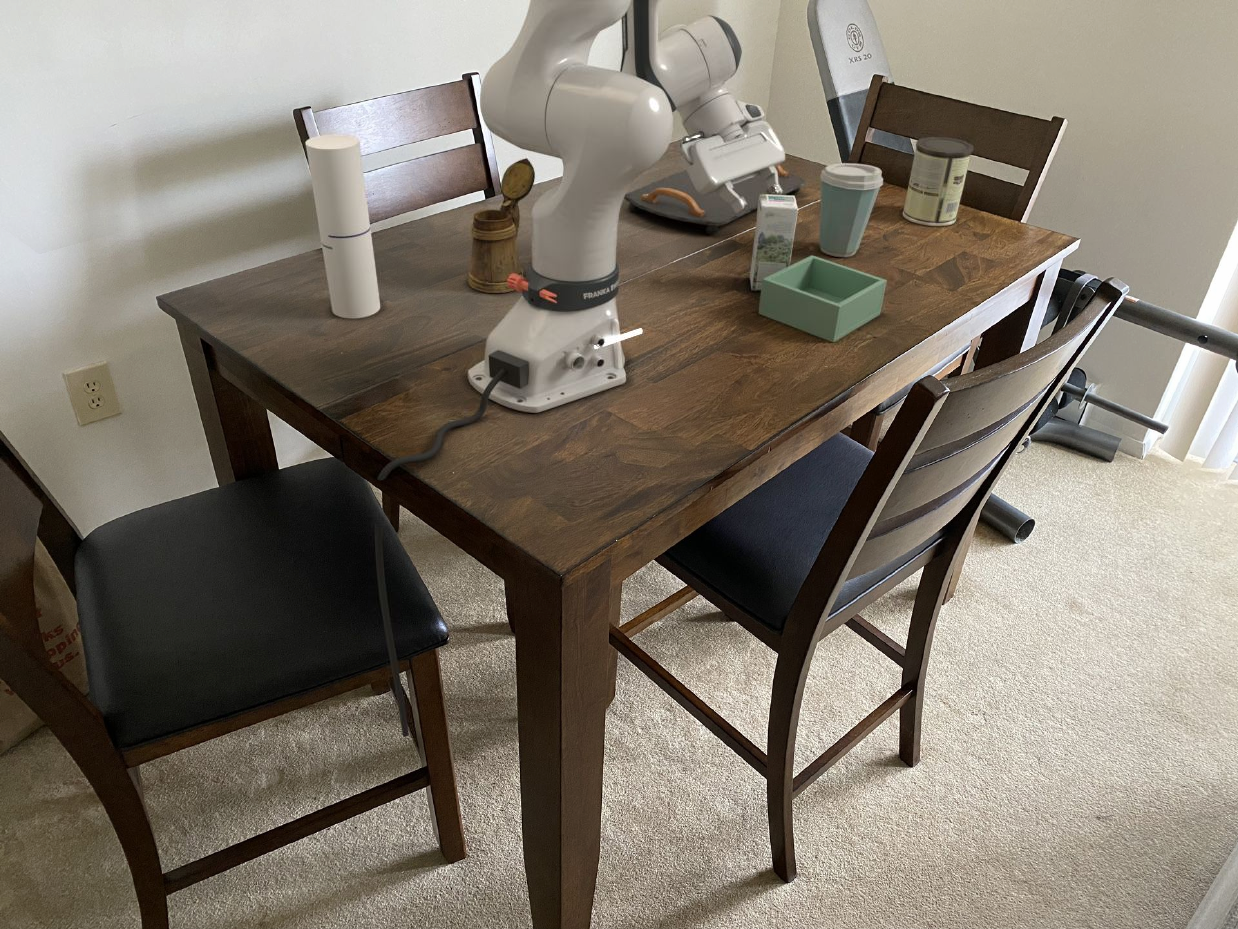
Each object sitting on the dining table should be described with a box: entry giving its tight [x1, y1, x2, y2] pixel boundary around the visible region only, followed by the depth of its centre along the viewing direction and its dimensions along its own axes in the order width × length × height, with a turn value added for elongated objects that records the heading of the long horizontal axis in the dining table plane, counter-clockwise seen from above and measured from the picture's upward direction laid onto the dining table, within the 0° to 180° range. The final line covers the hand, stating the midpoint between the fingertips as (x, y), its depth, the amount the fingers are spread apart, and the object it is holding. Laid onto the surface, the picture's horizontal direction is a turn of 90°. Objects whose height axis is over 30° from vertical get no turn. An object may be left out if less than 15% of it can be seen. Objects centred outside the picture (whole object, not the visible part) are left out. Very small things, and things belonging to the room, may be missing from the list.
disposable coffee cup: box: [818, 162, 884, 258], centre depth 163 cm, size 11×11×15 cm
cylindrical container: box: [305, 133, 381, 319], centre depth 136 cm, size 7×7×25 cm
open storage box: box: [758, 255, 888, 343], centre depth 144 cm, size 14×14×6 cm
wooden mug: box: [467, 157, 536, 294], centre depth 149 cm, size 9×14×18 cm, turn 146°
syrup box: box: [749, 194, 799, 292], centre depth 150 cm, size 6×6×14 cm
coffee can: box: [902, 136, 974, 227], centre depth 179 cm, size 10×10×14 cm
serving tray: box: [623, 164, 807, 237], centre depth 185 cm, size 39×23×6 cm, turn 142°
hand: (760, 203), depth 148 cm, fingers open, 8 cm apart
